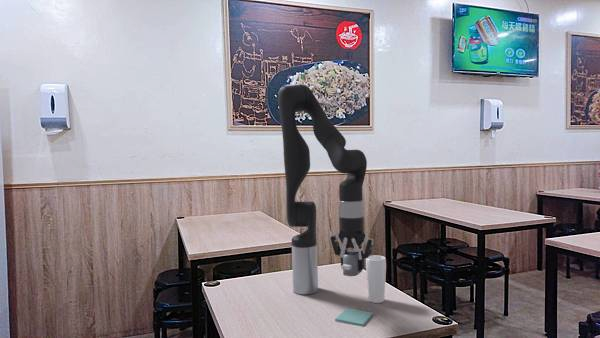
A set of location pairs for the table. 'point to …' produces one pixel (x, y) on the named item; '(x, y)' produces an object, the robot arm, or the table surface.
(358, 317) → the mat
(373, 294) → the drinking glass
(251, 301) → the table surface
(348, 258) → the grey lobed figure
